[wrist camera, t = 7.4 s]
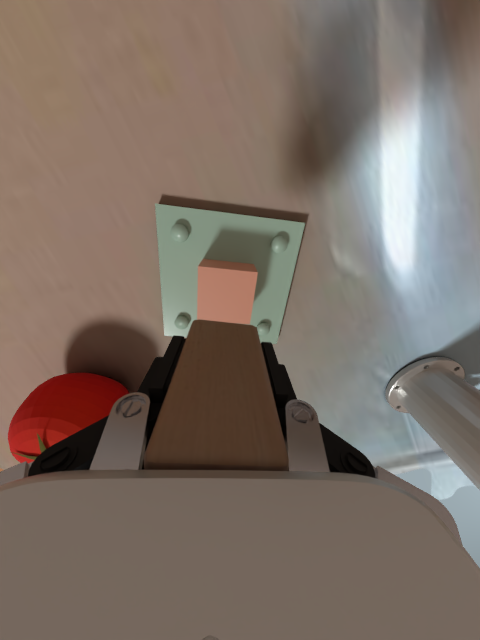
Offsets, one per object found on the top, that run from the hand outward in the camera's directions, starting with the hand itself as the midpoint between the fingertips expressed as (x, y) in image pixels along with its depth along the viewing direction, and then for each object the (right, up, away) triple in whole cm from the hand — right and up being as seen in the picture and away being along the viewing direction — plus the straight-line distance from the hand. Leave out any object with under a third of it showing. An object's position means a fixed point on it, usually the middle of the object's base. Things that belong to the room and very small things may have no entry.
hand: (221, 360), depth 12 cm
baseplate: (-1, +7, +14) cm, 16 cm away
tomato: (-22, -9, +21) cm, 32 cm away
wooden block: (0, +1, +1) cm, 2 cm away
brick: (-1, +7, +13) cm, 15 cm away
